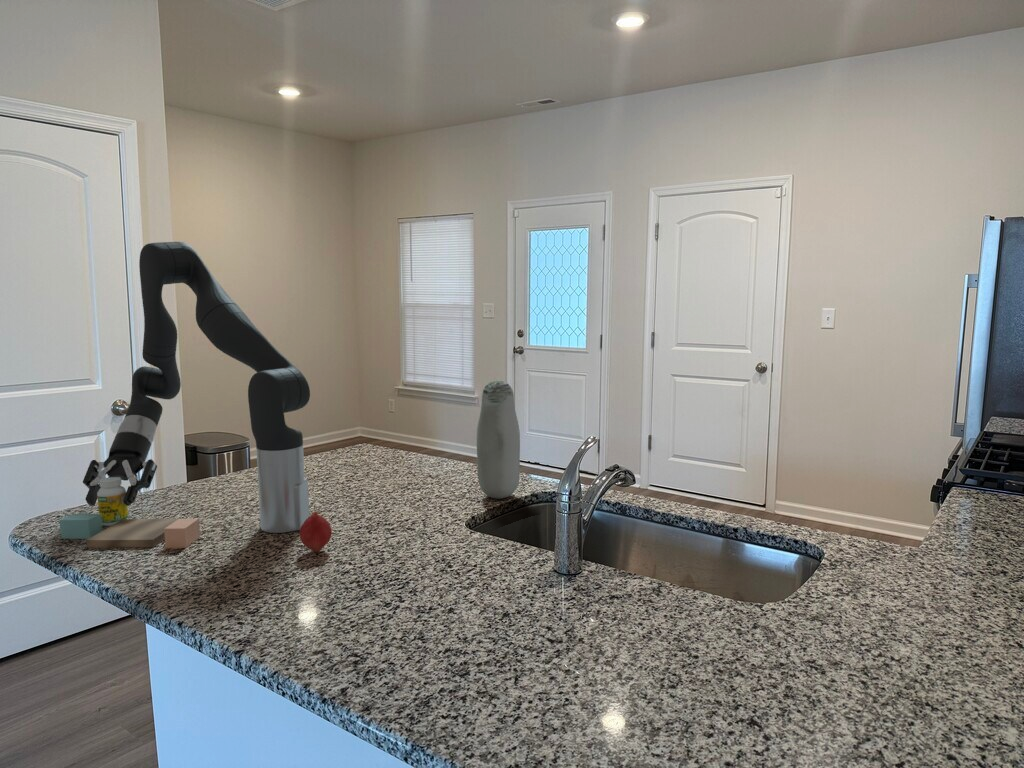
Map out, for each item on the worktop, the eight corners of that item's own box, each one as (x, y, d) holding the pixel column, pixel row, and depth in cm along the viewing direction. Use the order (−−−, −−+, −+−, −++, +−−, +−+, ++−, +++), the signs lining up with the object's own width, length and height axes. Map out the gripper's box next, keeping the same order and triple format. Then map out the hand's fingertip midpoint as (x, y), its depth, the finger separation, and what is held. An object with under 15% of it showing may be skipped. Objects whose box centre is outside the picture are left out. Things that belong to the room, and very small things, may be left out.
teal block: (102, 532, 142) (101, 513, 142) (89, 539, 138) (88, 520, 138) (74, 532, 142) (73, 513, 142) (61, 539, 138) (59, 519, 138)
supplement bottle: (132, 517, 151) (129, 475, 150) (122, 525, 146) (118, 481, 145) (106, 519, 150) (102, 476, 149) (95, 527, 145) (91, 482, 144)
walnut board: (185, 525, 146) (184, 518, 146) (153, 547, 133) (153, 539, 133) (123, 525, 146) (123, 519, 145) (86, 547, 133) (85, 540, 133)
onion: (293, 554, 128) (291, 512, 127) (315, 544, 133) (314, 504, 132) (317, 559, 126) (315, 517, 125) (338, 549, 131) (337, 508, 130)
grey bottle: (472, 494, 167) (470, 380, 164) (511, 489, 171) (510, 378, 167) (485, 505, 158) (483, 384, 155) (526, 500, 161) (525, 382, 158)
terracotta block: (180, 537, 138) (178, 518, 138) (200, 537, 138) (198, 518, 138) (165, 548, 132) (164, 528, 132) (186, 548, 132) (184, 528, 132)
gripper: (94, 430, 153) (65, 496, 143) (158, 430, 153) (134, 495, 143) (110, 448, 159) (83, 512, 149) (171, 448, 159) (149, 512, 149)
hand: (108, 504), depth 146 cm, fingers open, 7 cm apart
